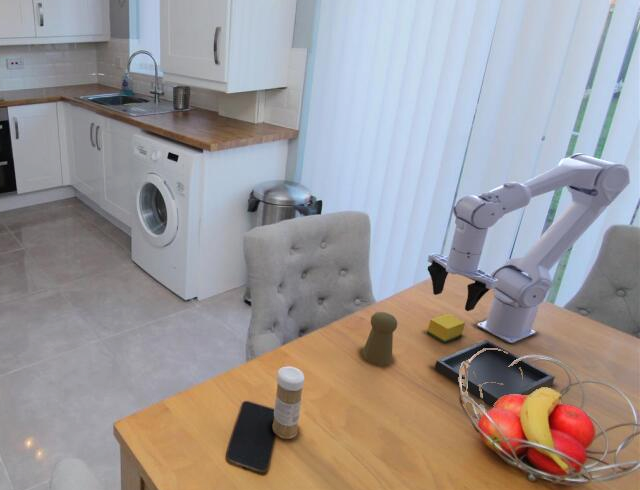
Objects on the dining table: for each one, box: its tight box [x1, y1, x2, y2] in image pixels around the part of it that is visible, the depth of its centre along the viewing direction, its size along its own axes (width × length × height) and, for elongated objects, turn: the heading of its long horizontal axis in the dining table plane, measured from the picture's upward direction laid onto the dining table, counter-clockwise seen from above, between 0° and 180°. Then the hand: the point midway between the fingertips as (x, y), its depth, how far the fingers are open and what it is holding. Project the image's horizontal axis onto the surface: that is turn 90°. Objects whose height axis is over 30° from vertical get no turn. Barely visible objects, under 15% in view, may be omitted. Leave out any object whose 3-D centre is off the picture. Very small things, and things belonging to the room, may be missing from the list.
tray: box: [434, 339, 556, 407], centre depth 101 cm, size 17×14×2 cm
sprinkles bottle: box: [271, 365, 305, 440], centre depth 88 cm, size 5×5×14 cm
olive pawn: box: [362, 311, 398, 367], centre depth 107 cm, size 6×6×11 cm
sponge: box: [426, 312, 466, 344], centre depth 115 cm, size 6×4×4 cm
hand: (452, 301), depth 112 cm, fingers open, 7 cm apart
